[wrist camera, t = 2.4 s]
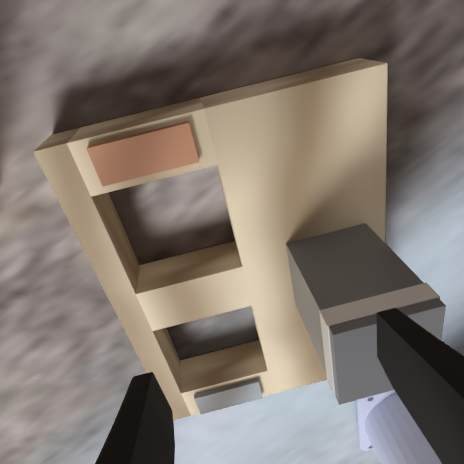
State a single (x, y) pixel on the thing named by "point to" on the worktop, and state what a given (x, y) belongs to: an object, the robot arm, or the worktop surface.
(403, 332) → the robot arm
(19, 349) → the worktop surface
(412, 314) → the plug
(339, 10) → the worktop surface
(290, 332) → the socket board
